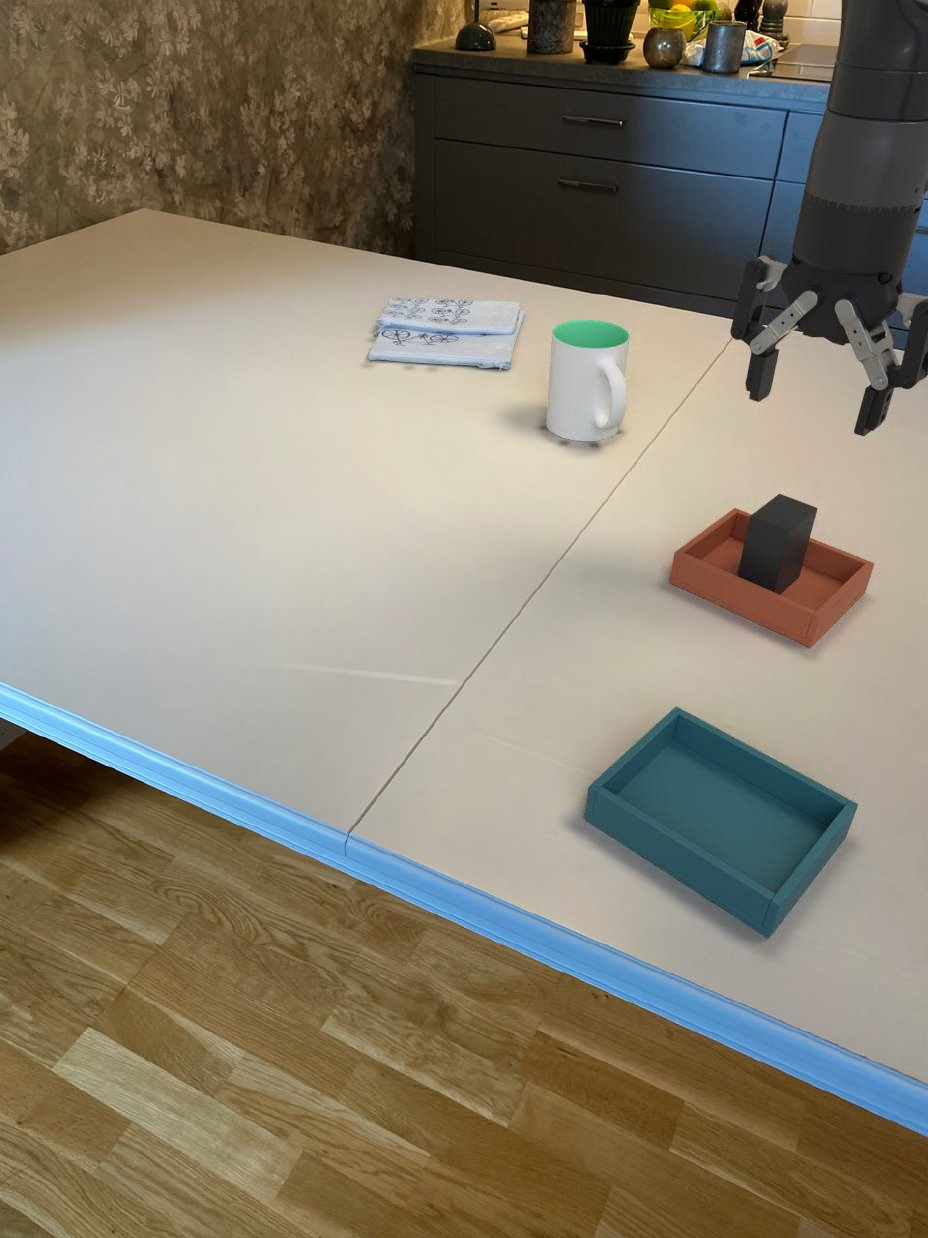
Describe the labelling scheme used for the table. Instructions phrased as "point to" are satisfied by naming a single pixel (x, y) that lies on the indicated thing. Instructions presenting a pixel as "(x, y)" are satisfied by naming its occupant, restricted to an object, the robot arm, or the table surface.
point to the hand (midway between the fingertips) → (810, 414)
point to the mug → (587, 380)
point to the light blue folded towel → (448, 332)
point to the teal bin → (721, 817)
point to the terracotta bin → (795, 613)
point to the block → (777, 543)
